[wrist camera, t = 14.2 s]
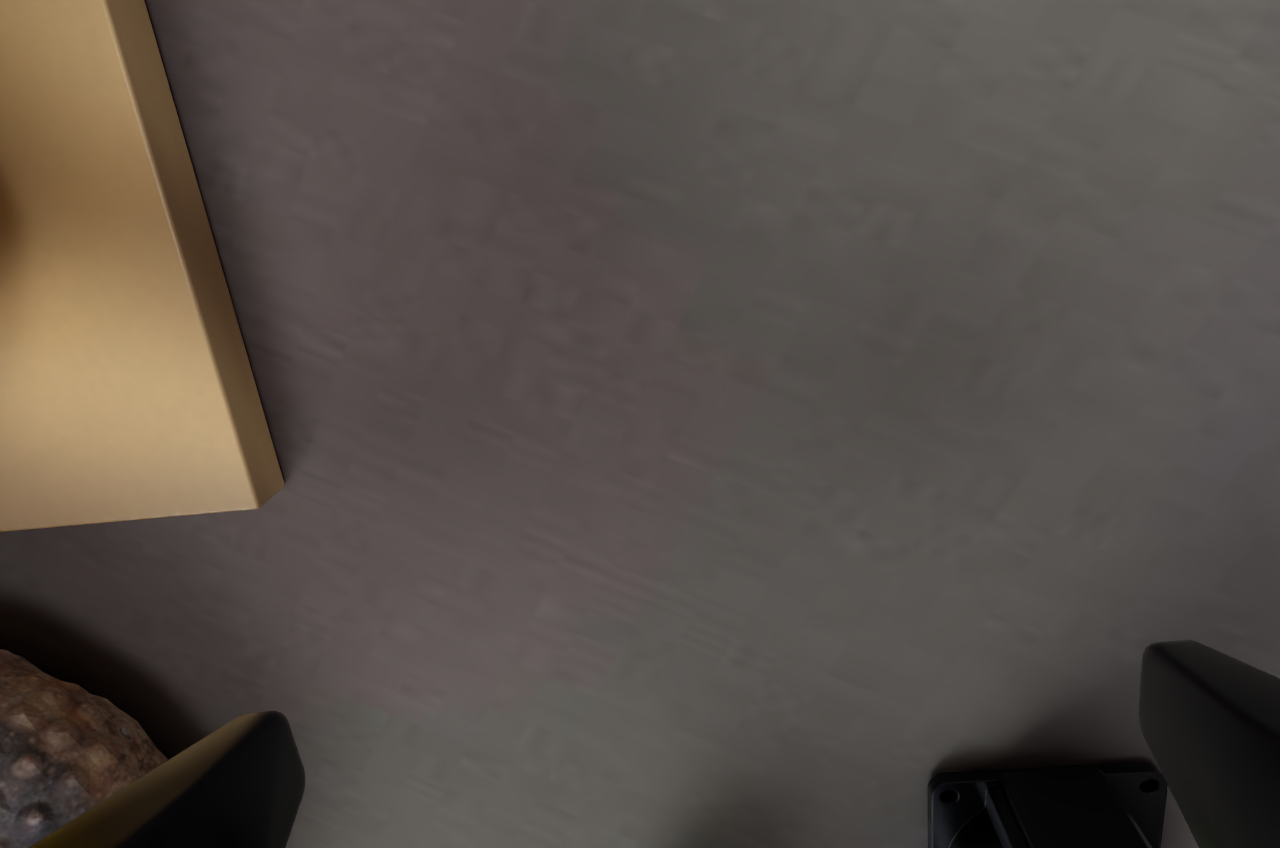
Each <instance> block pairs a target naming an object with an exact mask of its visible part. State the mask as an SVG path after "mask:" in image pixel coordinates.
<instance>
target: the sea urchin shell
mask: <svg viewBox="0 0 1280 848" xmlns="http://www.w3.org/2000/svg"><path fill="white" fill-rule="evenodd" d="M166 761H168V759H167V758H166V757H165V756H164V755H163V754H162V753H161V752H160V751H159V750H158V749H157V748H156V746H155V745H154V744H153V742H152V741H151V740H150V738H149V737H148V735H147V734H146V733H145V731H144V730H143V728H142V727H141V726H140V724H139V723H138V721H136V720H135V719H133V718H132V717H130V716H129V715H127V714H126V713H124V712H123V711H121V710H120V709H118V708H117V707H116V706H115V705H113V704H112V703H111V702H110V701H109V700H108V699H106V698H103V697H99V696H96V695H92V694H90V693H88V692H87V691H86V690H85V689H83V688H82V687H80V686H79V685H77V684H74V683H69V682H65V681H61V680H59V679H56V678H54V677H52V676H50V675H48V674H46V673H44V672H42V671H41V670H40V669H38V668H37V667H36V666H34V665H33V664H32V663H30V662H29V661H28V660H26V659H25V658H23V657H22V656H18V655H14V654H12V653H11V652H9V651H8V650H2V649H0V848H29V847H30V846H32V845H33V844H35V843H37V842H38V841H40V840H41V839H43V838H45V837H46V836H48V835H49V834H51V833H52V832H54V831H56V830H57V829H59V828H60V827H62V826H64V825H65V824H67V823H68V822H70V821H72V820H73V819H75V818H76V817H78V816H80V815H81V814H83V813H84V812H86V811H88V810H89V809H91V808H92V807H94V806H96V805H97V804H99V803H100V802H102V801H104V800H105V799H107V798H108V797H110V796H112V795H113V794H115V793H116V792H118V791H120V790H121V789H123V788H124V787H126V786H128V785H129V784H131V783H132V782H134V781H136V780H137V779H139V778H140V777H142V776H144V775H145V774H147V773H148V772H150V771H152V770H153V769H155V768H156V767H158V766H160V765H161V764H163V763H164V762H166Z"/></svg>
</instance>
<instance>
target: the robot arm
mask: <svg viewBox="0 0 1280 848" xmlns="http://www.w3.org/2000/svg"><path fill="white" fill-rule="evenodd" d="M1139 719H1140V724H1141V729H1142V732H1143V735H1144V737H1145V739H1146V741H1147V743H1148V746H1149V748H1150V750H1151V752H1152V754H1153V756H1154V758H1155V760H1156V762H1157V764H1158V766H1159V768H1160V770H1161V771H1160V770H1159V769H1158V767H1157V766H1156V765H1154V764H1152V763H1150V762H1131V763H1113V764H1095V765H1076V766H1058V767H1039V768H1021V769H1003V770H984V771H966V772H948V773H941V774H938V775H936V776H934V777H933V778H932V779H931V780H930V781H929V784H928V848H1160V847H1161V838H1162V830H1163V821H1164V812H1165V804H1166V795H1167V787H1168V786H1169V788H1170V790H1171V792H1172V794H1173V796H1174V798H1175V800H1176V802H1177V804H1178V806H1179V808H1180V810H1181V812H1182V814H1183V816H1184V818H1185V820H1186V822H1187V824H1188V826H1189V828H1190V830H1191V832H1192V834H1193V836H1194V838H1195V841H1196V843H1197V845H1198V847H1199V848H1280V678H1277V677H1275V676H1273V675H1271V674H1268V673H1266V672H1264V671H1262V670H1259V669H1257V668H1255V667H1252V666H1250V665H1248V664H1246V663H1243V662H1241V661H1239V660H1237V659H1234V658H1232V657H1230V656H1228V655H1225V654H1223V653H1221V652H1219V651H1216V650H1214V649H1212V648H1210V647H1207V646H1205V645H1203V644H1201V643H1198V642H1196V641H1191V640H1182V641H1169V642H1157V643H1151V644H1150V645H1149V646H1147V647H1146V648H1145V651H1144V653H1143V658H1142V671H1141V686H1140V701H1139ZM1161 772H1162V773H1161ZM1148 779H1149V780H1148ZM1144 780H1148V781H1146V782H1143V781H1144ZM1142 782H1143V783H1142ZM304 787H305V772H304V768H303V764H302V761H301V758H300V755H299V752H298V749H297V746H296V743H295V740H294V737H293V734H292V731H291V728H290V725H289V723H288V720H287V718H286V717H285V716H284V715H283V714H282V713H281V712H278V711H265V712H251V713H245V714H242V715H240V716H238V717H236V718H235V719H233V720H232V721H230V722H228V723H227V724H225V725H224V726H222V727H220V728H219V729H217V730H216V731H214V732H212V733H211V734H209V735H208V736H206V737H204V738H203V739H201V740H200V741H198V742H196V743H195V744H193V745H192V746H190V747H188V748H187V749H185V750H184V751H182V752H180V753H179V754H177V755H176V756H174V757H172V758H171V759H169V760H168V761H166V762H164V763H163V764H161V765H160V766H158V767H156V768H155V769H153V770H152V771H150V772H148V773H147V774H145V775H144V776H142V777H140V778H139V779H137V780H136V781H134V782H132V783H131V784H129V785H128V786H126V787H124V788H123V789H121V790H120V791H118V792H116V793H115V794H113V795H112V796H110V797H108V798H107V799H105V800H104V801H102V802H100V803H99V804H97V805H96V806H94V807H92V808H91V809H89V810H88V811H86V812H84V813H83V814H81V815H80V816H78V817H76V818H75V819H73V820H72V821H70V822H68V823H67V824H65V825H64V826H62V827H60V828H59V829H57V830H56V831H54V832H52V833H51V834H49V835H48V836H46V837H45V838H43V839H41V840H40V841H38V842H37V843H35V844H33V845H32V846H30V847H29V848H285V847H286V844H287V841H288V838H289V835H290V832H291V829H292V826H293V823H294V820H295V817H296V814H297V811H298V808H299V805H300V802H301V799H302V796H303V792H304ZM945 790H951V791H950V792H948V793H942V792H944V791H945Z"/></svg>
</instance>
